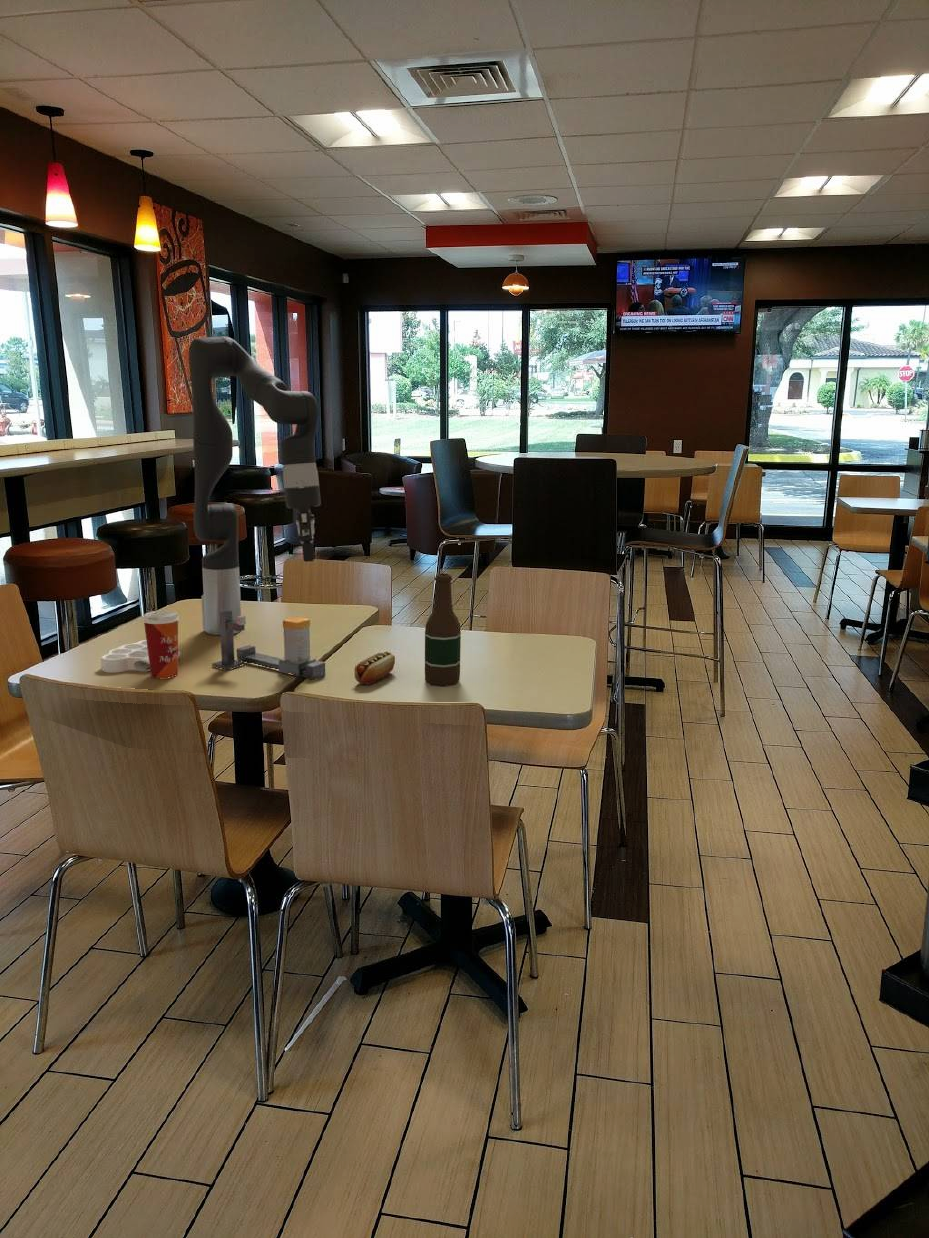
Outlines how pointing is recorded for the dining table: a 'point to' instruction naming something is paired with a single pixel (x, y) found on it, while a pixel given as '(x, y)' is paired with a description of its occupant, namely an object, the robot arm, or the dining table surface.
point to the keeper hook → (229, 639)
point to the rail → (251, 656)
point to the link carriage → (296, 646)
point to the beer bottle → (442, 638)
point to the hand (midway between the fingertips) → (309, 559)
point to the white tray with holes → (127, 658)
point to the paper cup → (162, 642)
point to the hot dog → (374, 668)
